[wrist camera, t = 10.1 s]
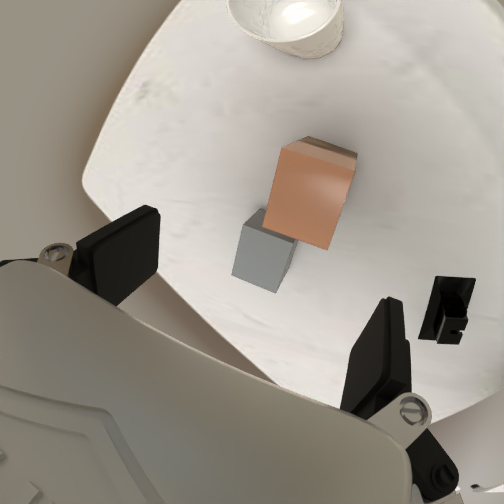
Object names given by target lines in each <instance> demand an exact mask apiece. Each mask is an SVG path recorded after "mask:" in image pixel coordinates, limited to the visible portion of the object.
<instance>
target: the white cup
mask: <svg viewBox="0 0 504 504" xmlns="http://www.w3.org/2000/svg"><path fill="white" fill-rule="evenodd" d="M226 8H227V11H228V14H229V16H230V18H231V20H232V21H233V23H234V24H235V25H236V26H237V27H238V28H239V29H240V30H241V31H243V32H244V33H246V34H247V35H249V36H251V37H253V38H256V39H258V40H260V41H262V42H264V43H266V44H268V45H270V46H272V47H274V48H276V49H279V50H281V51H283V52H286V53H288V54H291V55H294V56H297V57H300V58H303V59H306V58H320V57H322V56H324V55H326V54H328V53H330V52H332V51H333V50H334V49H335V48H336V46H337V45H338V44H339V42H340V41H341V40H342V32H343V25H344V14H343V4H342V0H226Z"/></svg>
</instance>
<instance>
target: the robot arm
mask: <svg viewBox="0 0 504 504" xmlns="http://www.w3.org/2000/svg"><path fill="white" fill-rule="evenodd" d="M160 218H161V216H160V214H159V213H158V210H157V209H156V208H153V207H151V206H148V205H143V206H141V207H139V208H137V209H135V210H133V211H132V212H130V213H128V214H126V215H124V216H122V217H120V218H118V219H117V220H115V221H113V222H111V223H109V224H108V225H106V226H104V227H102V228H100V229H99V230H97V231H95V232H93V233H92V234H90V235H88V236H86V237H85V238H83V239H81V240H80V241H78V242H77V243H76V246H77V249H76V250H75V251H73V248H72V247H71V246H70V245H69V244H65V243H54V244H51V245H49V246H47V247H45V248H44V249H43V250H42V251H41V253H40V255H39V258H31V259H17V260H3V261H1V262H0V504H464V503H463V500H462V497H461V495H460V493H459V494H456V492H455V488H456V487H457V485H458V481H459V473H458V469H457V468H456V466H455V464H454V463H453V461H452V460H451V459H450V457H449V456H448V455H447V453H446V452H445V451H444V449H443V448H442V447H441V445H440V444H439V443H438V441H437V440H436V439H435V437H434V436H433V435H432V434H431V432H430V431H429V430H428V428H427V427H428V426H429V424H430V423H431V419H432V413H431V409H430V407H429V405H428V403H427V402H426V400H424V399H423V398H422V397H421V396H419V395H417V394H415V393H412V384H411V357H410V343H409V341H408V340H406V339H405V325H404V313H403V303H402V301H400V300H397V299H394V298H392V297H387V299H384V298H382V299H381V301H380V302H379V304H378V306H377V308H376V309H375V311H374V313H373V314H372V316H371V318H370V320H369V321H368V323H367V325H366V326H365V328H364V330H363V331H362V333H361V335H360V336H359V338H358V339H357V341H356V343H355V344H354V346H353V348H352V350H351V352H350V357H349V363H348V369H347V374H346V380H345V385H344V390H343V395H342V400H341V405H340V409H338V408H335V407H333V406H330V405H327V404H325V403H322V402H319V401H317V400H314V399H311V398H308V397H306V396H303V395H300V394H298V393H295V392H293V391H290V390H288V389H285V388H283V387H280V386H278V385H275V384H272V383H270V382H268V381H265V380H263V379H260V378H258V377H256V376H253V375H251V374H249V373H246V372H244V371H241V370H239V369H237V368H235V367H233V366H230V365H228V364H226V363H224V362H222V361H219V360H217V359H215V358H213V357H211V356H208V355H206V354H204V353H202V352H200V351H198V350H196V349H194V348H192V347H190V346H188V345H186V344H184V343H182V342H180V341H178V340H176V339H174V338H172V337H170V336H168V335H166V334H165V333H163V332H161V331H159V330H157V329H155V328H153V327H151V326H149V325H148V324H146V323H144V322H142V321H140V320H139V319H137V318H135V317H133V316H132V315H129V314H128V313H126V312H125V311H123V310H121V309H119V308H117V307H116V306H117V305H118V304H120V303H121V302H122V301H123V300H124V299H125V298H127V297H128V296H129V295H130V294H131V293H132V292H134V291H135V290H136V289H137V288H138V287H139V286H140V285H142V284H143V283H144V282H145V281H146V280H147V279H149V278H150V277H151V276H152V275H154V274H155V272H156V271H157V268H158V255H159V234H160Z"/></svg>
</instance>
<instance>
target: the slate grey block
mask: <svg viewBox="0 0 504 504" xmlns="http://www.w3.org/2000/svg"><path fill="white" fill-rule="evenodd" d="M265 214H266V211H265V210H262V209H259V210H258V211H257V212H256V213H255V214H254V215H253V216H252V217H251V218H250V219H249V220H247V221H246V222H245V223H244V224H243V227H242V231H241V236H240V240H239V244H238V248H237V253H236V257H235V261H234V266H233V270H232V274H231V275H232V276H235V277H237V278H239V279H242V280H244V281H247V282H249V283H251V284H254V285H256V286H259V287H261V288H264V289H266V290H268V291H271V292H273V293H276V292H277V290H278V288H279V286H280V284H281V282H282V280H283V278H284V276H285V275H286V273H287V271H288V268H289V265H290V262H291V259H292V257H293V254H294V251H295V248H296V245H297V242H298V239H295V238H292V237H289V236H287V235H284V234H281V233H278V232H275V231H273V230H270V229H267V228H264V227H262V226H263V222H264V218H265Z"/></svg>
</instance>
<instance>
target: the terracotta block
mask: <svg viewBox="0 0 504 504" xmlns="http://www.w3.org/2000/svg"><path fill="white" fill-rule="evenodd" d="M355 168H356V160H355V159H352V158H350V157H347V156H344V155H341V154H338V153H335V152H332V151H329V150H326V149H323V148H320V147H317V146H313V145H310V144H307V143H304V142H300V141H296V142H293V143H291V144H289V145H286V146H284V147H282V148H281V152H280V156H279V161H278V165H277V169H276V173H275V177H274V181H273V185H272V189H271V193H270V197H269V201H268V206H267V210H266V214H265V218H264V222H263V226H262V227H264V228H267V229H270V230H273V231H275V232H278V233H281V234H284V235H287V236H289V237H292V238H295V239H298V240H300V241H303V242H306V243H308V244H311V245H314V246H317V247H319V248H322V249H325V250H328V247H329V245H330V242H331V239H332V237H333V234H334V231H335V228H336V226H337V223H338V220H339V217H340V214H341V212H342V209H343V206H344V203H345V200H346V197H347V194H348V191H349V188H350V185H351V182H352V179H353V176H354V173H355Z"/></svg>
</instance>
